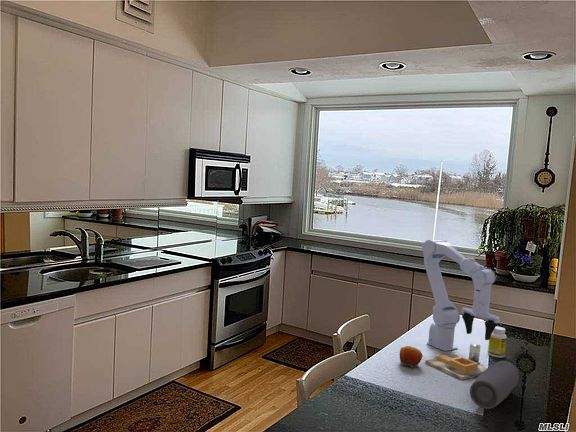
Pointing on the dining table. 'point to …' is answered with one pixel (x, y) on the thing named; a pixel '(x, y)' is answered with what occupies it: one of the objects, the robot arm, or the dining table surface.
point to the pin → (474, 352)
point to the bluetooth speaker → (494, 384)
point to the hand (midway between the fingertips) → (478, 336)
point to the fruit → (410, 356)
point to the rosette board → (453, 371)
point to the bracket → (459, 363)
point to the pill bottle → (497, 343)
